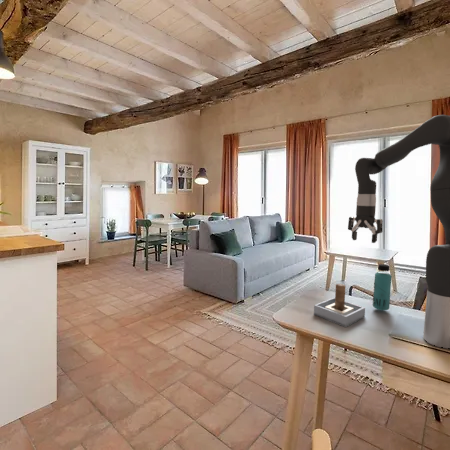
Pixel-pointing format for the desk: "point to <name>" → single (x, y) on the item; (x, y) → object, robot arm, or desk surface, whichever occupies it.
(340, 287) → the peg
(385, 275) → the beverage bottle
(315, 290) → the desk surface
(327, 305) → the box
